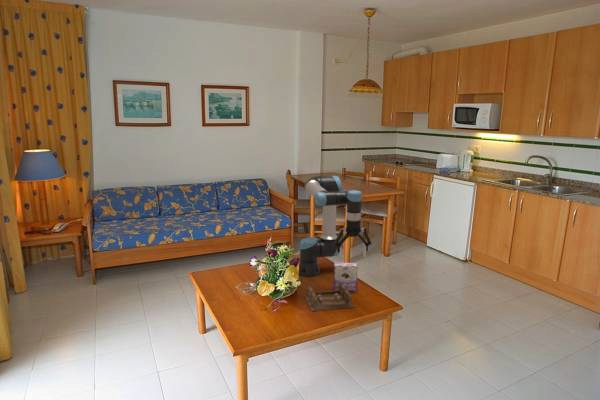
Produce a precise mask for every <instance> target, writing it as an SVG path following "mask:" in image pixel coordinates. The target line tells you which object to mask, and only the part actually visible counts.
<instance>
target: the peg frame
mask: <svg viewBox="0 0 600 400" xmlns="http://www.w3.org/2000/svg"><path fill="white" fill-rule="evenodd" d="M304 298H305V301H306V303H307V304H308V307H309V309H310V311H311V312H321V311H331V310H342V309H353V308H354V309H355V304H354V303H353V302H352V294H351V293H350V292H349V291H348V290H347V289H346V288H345V286H344V285H343V283H339V290H334V289H333V290H321V291H320V290H319V291H314V290H313V287H312V286H311V284H308V285H307V294H304Z"/></svg>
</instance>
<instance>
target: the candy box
mask: <svg viewBox="0 0 600 400" xmlns="http://www.w3.org/2000/svg"><path fill="white" fill-rule="evenodd" d="M339 283H343V285H344V286H345V288H346V289H347V290H348V292H349V293H350V292H354V293H357V292H358V263H357V262H338V261H337V262H336V261H335V262H334V263H333V290H339Z"/></svg>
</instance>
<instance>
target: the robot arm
mask: <svg viewBox="0 0 600 400" xmlns="http://www.w3.org/2000/svg"><path fill="white" fill-rule="evenodd" d="M342 185H343V183H342V181H341V178H340V177H339V176H337V175H317V176H316V175H314V176H312V177H310V178H308V179H307V180H306V182H305V183H304V185H303V186H304V190H305V192H306V193H307V195H310V196H312V197H313V198H314V202H315V205H316V206H318V207H322V234H321V235H320V236H319V237H320V238H319V239H318V238H317V237H315V236H314V237H312V236H310V237H305V238H303V239H301V240H300V243H299V262H300V263H298V265H299V274H300V275H299V274H298V275H299V276H301V277H307V278H309V277H316V276H318V275H320V273H321V269H320V265H319V262H318V258H332V257H337V256H338V258H339V260H340V259H342V248H343V247H342V245H343V244H344V243H345V242H346V240H347V239H348V238H349V237H350V238H353V237H355V238H356V237H358V238H359V239H360V240H361V242H362V243H363V245H362V246H363V247H362V256H363V258H367V252H369V250H368V249H369V246H370V245H372V242H371V239H370V237H369V235H368V233H367V228H366V227H364V226H363V227H362V228H361V222H362V221H361V219H362V218H361V217H362V199H363V198H362V191H360V190H355V189H352V190H351V189H350V190H348V189H344V190H343V186H342ZM337 206H346V221H345V222H346V224H345V225H346V226H345V228H342V227H341V228H340V229H339V233H338V235H337V234H336V233H337V230H336V229H337ZM361 232H362V233H363V234H364V235H363V236H364V237H365V239H364V237H363V236H362V235H361V234H360V233H361ZM344 233H345V234H344ZM343 235H344V236H343Z"/></svg>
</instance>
